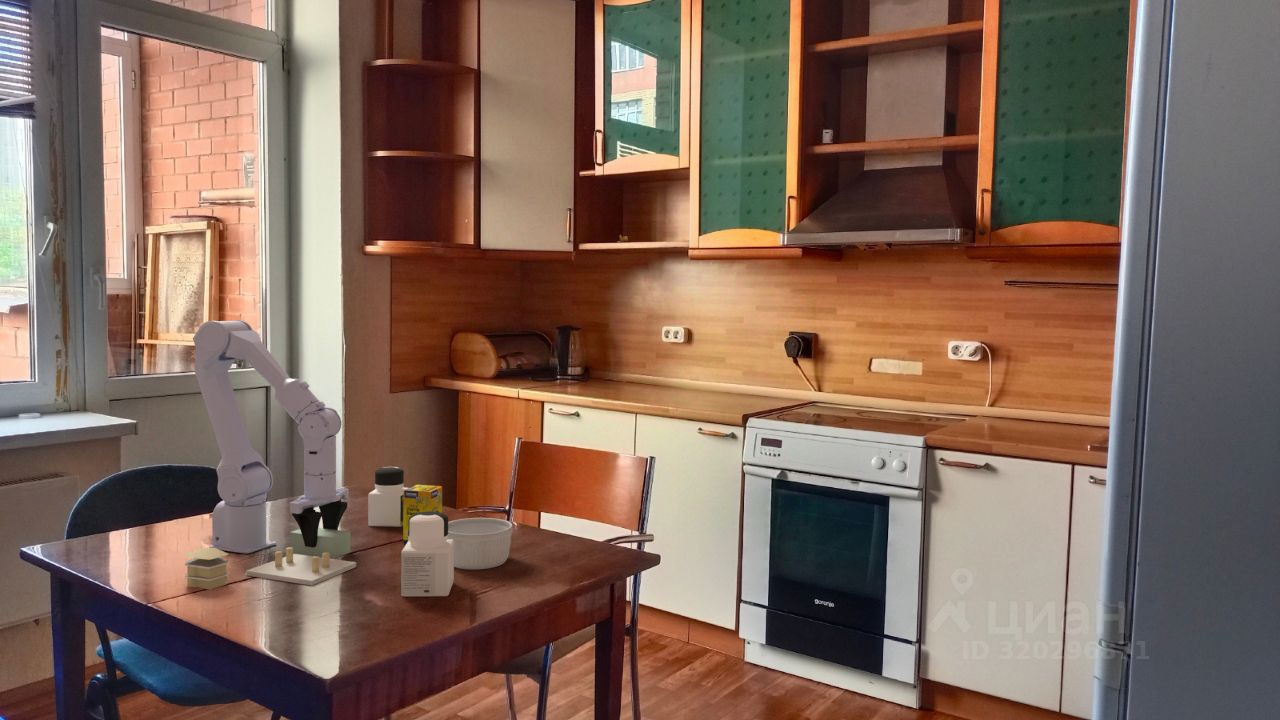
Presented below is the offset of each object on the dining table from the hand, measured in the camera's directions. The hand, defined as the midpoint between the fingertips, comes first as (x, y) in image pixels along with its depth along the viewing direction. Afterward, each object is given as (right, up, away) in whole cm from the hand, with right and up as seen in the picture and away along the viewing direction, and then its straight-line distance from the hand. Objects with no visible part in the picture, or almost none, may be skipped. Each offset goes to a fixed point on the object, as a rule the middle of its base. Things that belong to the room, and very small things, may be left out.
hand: (320, 543), depth 178 cm
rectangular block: (0, -2, 0) cm, 2 cm away
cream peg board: (+1, -3, -12) cm, 12 cm away
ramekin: (+31, -3, -4) cm, 31 cm away
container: (+25, -4, -21) cm, 33 cm away
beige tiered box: (-12, -3, -20) cm, 24 cm away
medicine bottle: (+7, -1, +24) cm, 25 cm away
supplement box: (+17, -2, +10) cm, 20 cm away
